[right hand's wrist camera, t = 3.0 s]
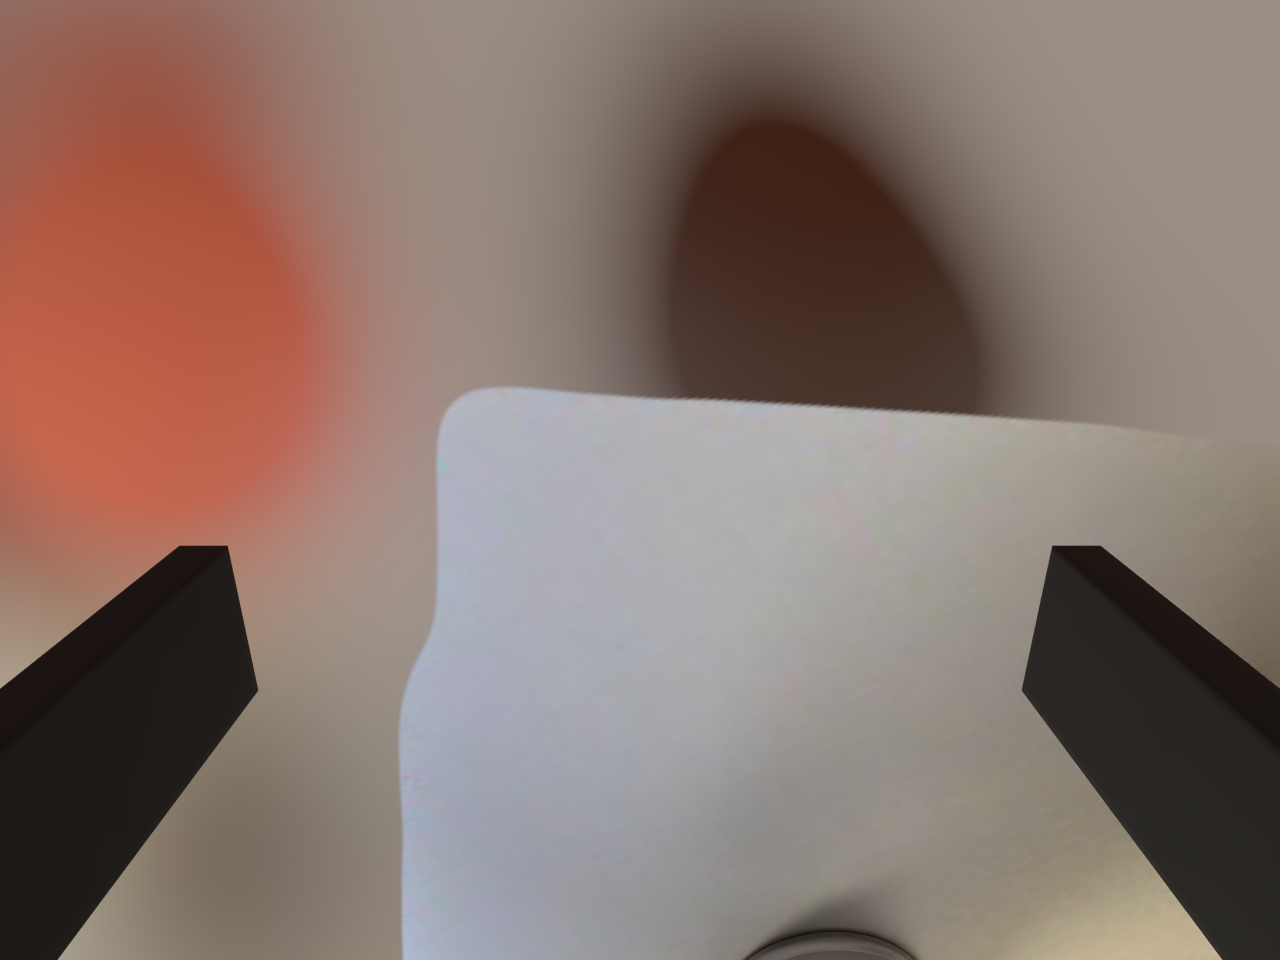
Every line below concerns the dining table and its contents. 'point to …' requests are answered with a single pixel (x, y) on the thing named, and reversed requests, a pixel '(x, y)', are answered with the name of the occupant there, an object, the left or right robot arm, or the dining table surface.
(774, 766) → the dining table surface
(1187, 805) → the right robot arm
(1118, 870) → the dining table surface
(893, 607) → the dining table surface
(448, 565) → the dining table surface
